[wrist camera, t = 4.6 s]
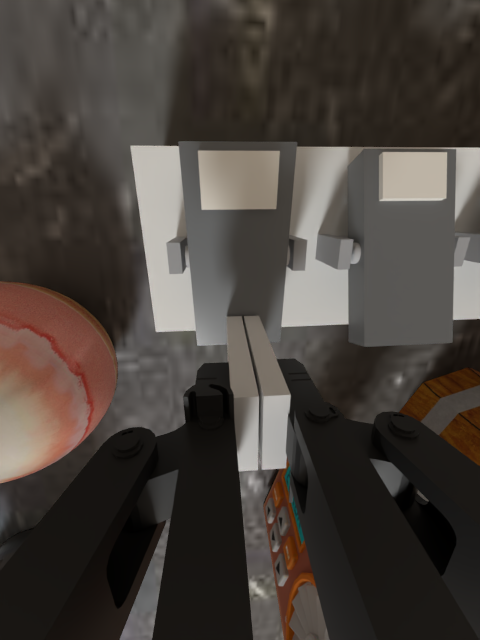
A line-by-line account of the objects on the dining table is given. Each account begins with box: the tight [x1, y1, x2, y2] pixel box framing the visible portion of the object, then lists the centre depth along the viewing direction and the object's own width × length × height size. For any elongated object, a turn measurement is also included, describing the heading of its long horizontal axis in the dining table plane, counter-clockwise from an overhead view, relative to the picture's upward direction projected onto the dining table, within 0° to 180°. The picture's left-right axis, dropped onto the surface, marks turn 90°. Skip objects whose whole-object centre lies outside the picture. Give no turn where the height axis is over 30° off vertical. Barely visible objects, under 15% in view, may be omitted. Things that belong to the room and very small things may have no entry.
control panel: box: [263, 458, 329, 640], centre depth 24 cm, size 21×7×15 cm
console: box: [131, 146, 480, 332], centre depth 18 cm, size 26×10×11 cm, turn 90°
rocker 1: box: [178, 141, 297, 346], centre depth 13 cm, size 5×9×2 cm, turn 0°
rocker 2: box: [347, 149, 456, 347], centre depth 13 cm, size 5×9×2 cm, turn 0°
